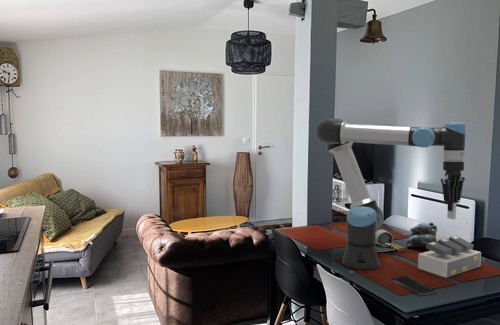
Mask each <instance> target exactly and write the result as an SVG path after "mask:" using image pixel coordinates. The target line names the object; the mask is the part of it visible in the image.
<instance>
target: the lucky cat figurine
mask: <svg viewBox="0 0 500 325" xmlns="http://www.w3.org/2000/svg"><path fill="white" fill-rule="evenodd" d="M437 231H438V227H437V225H435V224H434V223H433V222H430V223H425V222H422V223H418V224H417V225H415V226H413V227H411V228H410V233H409V235H408V236H409V238H407V240H405V242H406V244H405V246H406V247H407V248H426V244H427V243H431V242H436V243H438V240H437V237H436V236H437Z"/></svg>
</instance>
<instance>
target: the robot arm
mask: <svg viewBox="0 0 500 325" xmlns="http://www.w3.org/2000/svg"><path fill="white" fill-rule="evenodd" d="M315 135H316V138H317V140H318V141H319V142H321V143H322V144H324V145H325V146H326V148H327V151H328V152H329V153H332V155H333V157H334V160H335V162H336V164H337V167H338V169H339V170H338V171H339V173H340V175H341V177H342V181H343V183H344V185H345V188H346V191H347V194H348V196H349V199H350V201H351V204H350V206H349V209H348V211H347V215H346V246H345V249H344V252H343V254H342V260H341V261H342V262H341V264H342V265H344V266H345V267H348V268H350V269H354V270H362V271H363V270H364V271H366V270H367V271H368V270H369V271H370V270H375V269H377V268H379V266H380V258H379V256H378V251H377V249H376V245H375V237H376V231H378V230H380V228H381V227H382V225H383V223H384V219H385V218H384V212H383V210H382V208H380V207H379V205H378V204H377V201H376V198H374V197H372V196H371V195H370V192H369V190H368V187H367V185H366V183H365V182H366V181H365V180H364V177H363V175H362V172H361V169H360V167H359V164H358V161H357V159H356V157H355V154H354V151H353V149H352V148H353V147H352V146H353V144H354V143H359V144H360V143H361V144H373V145H374V144H376V145H393V146H405V147H419V148H428V147H430V146H431V147H443V153H442V154H443V156H442V157H443V159H442V160H443V162H442V169H443V171H445V174H444V178H440V182H441V185H442V186H441V187H442V193H443V194H442V196H443V201H444V202H445V203H447V216H446V217H447V219H449V220H450V219H451V220H456V218H457V204H459V203H460V201H461V197H462V193H463V192H462V191H463V185H464V182H465V179H466V177H465V176H462V172H463V171H465V170H464V169H465V162H464V160H465V155H466V152H465V149H466V148H465V147H466V144H465V143H466V124H465V123H464V122H461V121H460V122H459V121H458V122H445V123H444V125H443V126H442V127H427V126H425V127H424V126H404V125H403V126H401V125H398V126H397V125H384V124H383V125H381V124H377V125H376V124H359V123H358V124H355V123H347V122H346V121H345V120H343V119H340V118H325V119H323V120H321V121H319V123H318V124H317V125H316V128H315Z"/></svg>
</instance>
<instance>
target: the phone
mask: <svg viewBox="0 0 500 325" xmlns="http://www.w3.org/2000/svg"><path fill="white" fill-rule="evenodd" d="M391 282H392V283H394V284H396V285H398V286H400V287H401V288H403V289H404V290H407V291H409V292H411V293H412V294H413V295H414V294H415V295H416V296H418V297H423V296H424V297H425V296H430V295H435V294H436V293H437V290H435V289H434V288H432V287H430V286H428V285H426V284H425V283H422V282H420V281H418V280H416V279H414V278H412V277H410V276H406V275H404V276H398V277H392V278H391Z"/></svg>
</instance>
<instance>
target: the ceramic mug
mask: <svg viewBox="0 0 500 325" xmlns="http://www.w3.org/2000/svg"><path fill="white" fill-rule="evenodd" d="M393 242H394V236H393V235H392V233H390V232H389V231H387V230H384V229H378V230H377V231H376V237H375V244H377V245H378V246H380V244H379V243H381V244H385V243H391V244H393Z"/></svg>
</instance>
